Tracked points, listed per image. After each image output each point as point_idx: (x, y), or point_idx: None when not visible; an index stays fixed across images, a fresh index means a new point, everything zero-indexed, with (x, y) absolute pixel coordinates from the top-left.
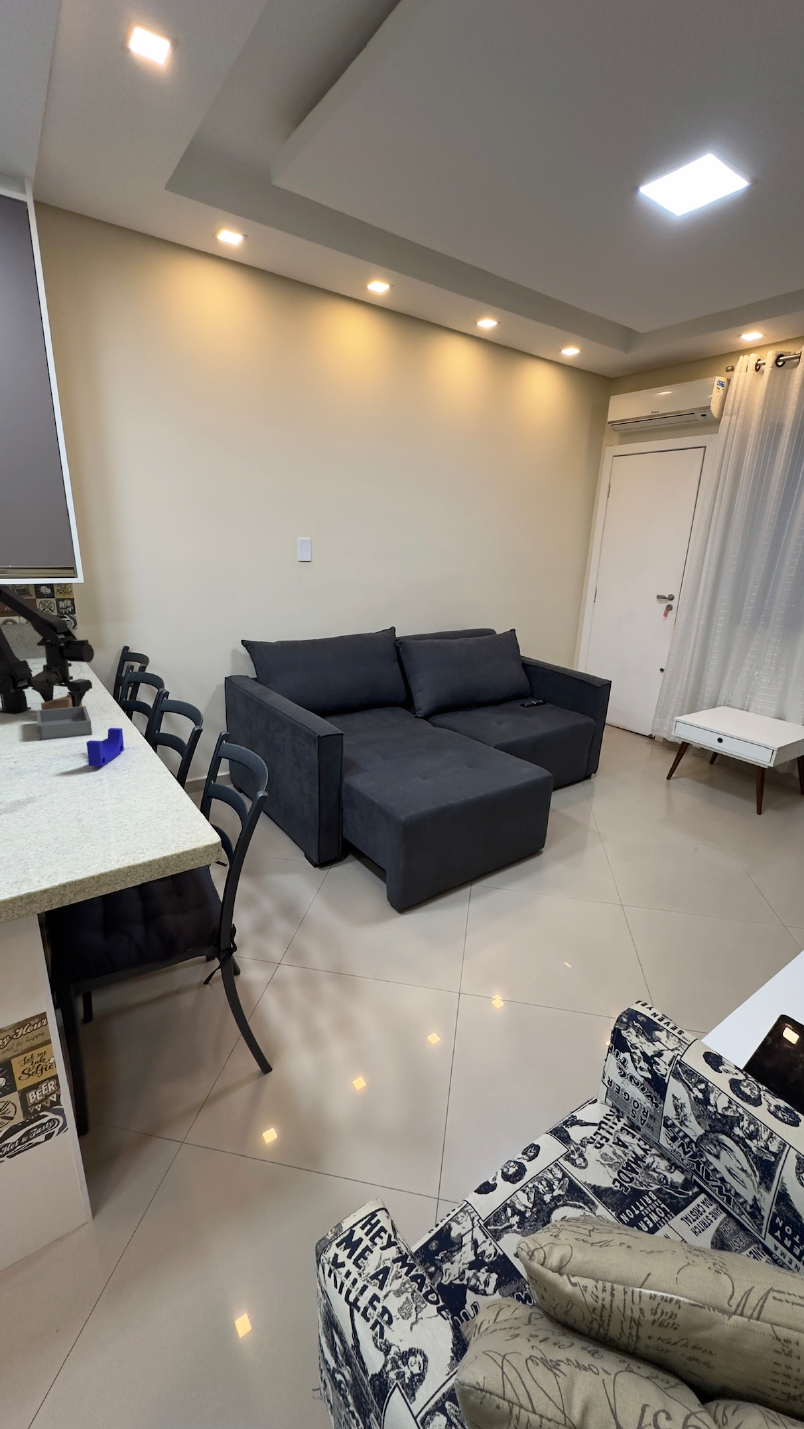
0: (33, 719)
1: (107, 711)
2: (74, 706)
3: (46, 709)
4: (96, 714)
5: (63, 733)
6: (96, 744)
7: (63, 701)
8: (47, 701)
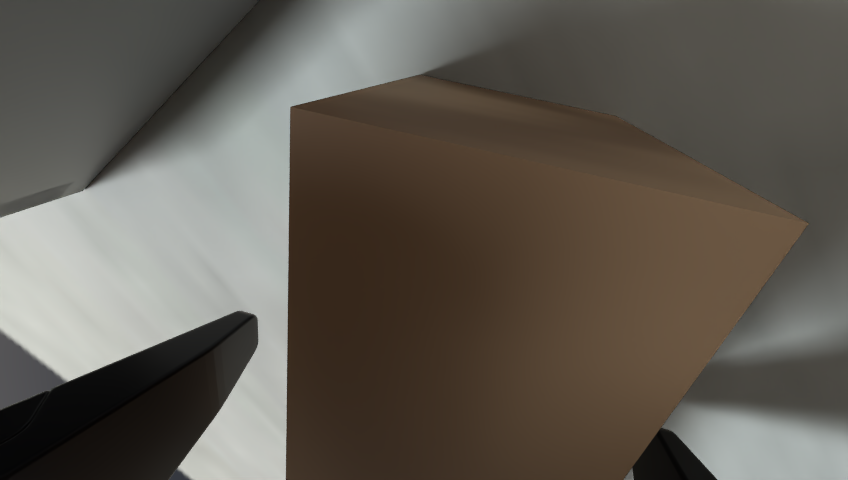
0: (778, 38)
1: None
2: (148, 349)
3: (530, 125)
4: None
5: None
6: None
7: (296, 466)
8: (636, 446)
